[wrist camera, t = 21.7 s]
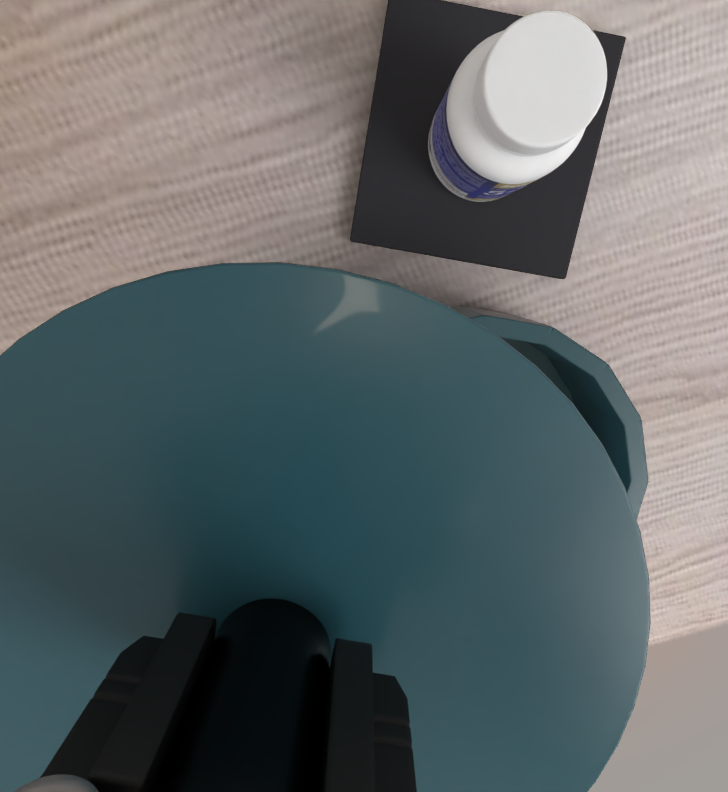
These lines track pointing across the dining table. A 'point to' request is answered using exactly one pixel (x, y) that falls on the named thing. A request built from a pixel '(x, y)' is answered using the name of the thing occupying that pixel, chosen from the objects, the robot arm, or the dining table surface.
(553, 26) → the pill bottle
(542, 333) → the pot
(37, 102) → the dining table surface
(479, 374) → the pot lid
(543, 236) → the plate
